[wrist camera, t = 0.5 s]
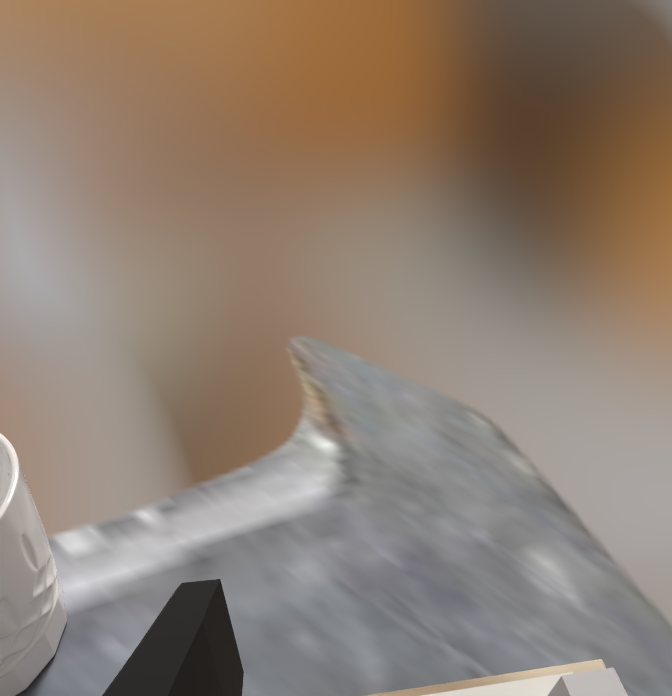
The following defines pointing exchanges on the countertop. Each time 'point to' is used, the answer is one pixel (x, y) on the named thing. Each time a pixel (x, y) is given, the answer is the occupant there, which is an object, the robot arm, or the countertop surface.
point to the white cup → (25, 583)
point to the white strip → (552, 686)
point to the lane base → (499, 679)
